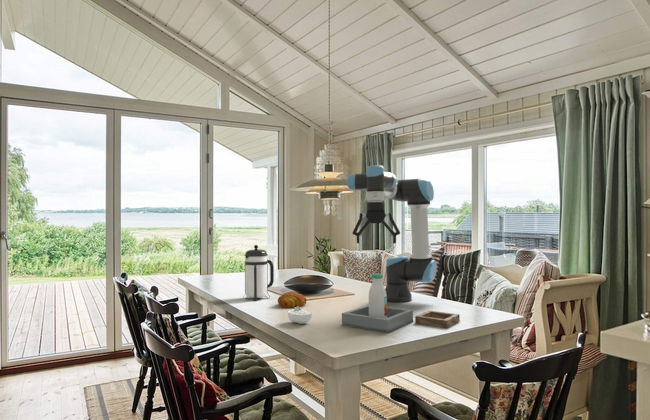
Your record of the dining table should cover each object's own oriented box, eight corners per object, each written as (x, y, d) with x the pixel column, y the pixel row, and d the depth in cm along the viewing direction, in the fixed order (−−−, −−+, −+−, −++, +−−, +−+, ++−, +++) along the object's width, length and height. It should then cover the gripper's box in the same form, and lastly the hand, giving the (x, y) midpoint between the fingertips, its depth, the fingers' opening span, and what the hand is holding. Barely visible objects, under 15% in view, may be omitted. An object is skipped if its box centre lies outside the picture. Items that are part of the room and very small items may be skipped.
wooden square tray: (429, 317, 202) (428, 310, 202) (459, 321, 193) (459, 314, 193) (415, 323, 191) (415, 316, 191) (447, 328, 182) (447, 320, 182)
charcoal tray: (369, 315, 207) (369, 304, 207) (413, 321, 193) (412, 310, 193) (341, 325, 189) (341, 313, 189) (388, 333, 176) (388, 320, 176)
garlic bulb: (294, 327, 186) (294, 311, 186) (284, 321, 197) (284, 306, 197) (316, 324, 190) (316, 308, 190) (305, 319, 201) (305, 303, 201)
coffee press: (269, 301, 244) (269, 245, 244) (240, 301, 244) (240, 246, 244) (274, 295, 261) (273, 243, 261) (246, 295, 261) (246, 243, 262)
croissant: (273, 311, 227) (272, 296, 226) (286, 301, 242) (285, 287, 241) (300, 313, 222) (298, 297, 221) (311, 302, 237) (310, 287, 236)
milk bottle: (381, 324, 186) (380, 275, 186) (365, 321, 190) (364, 274, 191) (390, 320, 192) (389, 273, 192) (374, 318, 197) (374, 272, 197)
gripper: (345, 202, 192) (346, 251, 192) (404, 201, 186) (405, 252, 186) (348, 202, 199) (349, 250, 199) (405, 201, 194) (406, 250, 194)
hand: (376, 251), depth 193 cm, fingers open, 13 cm apart
